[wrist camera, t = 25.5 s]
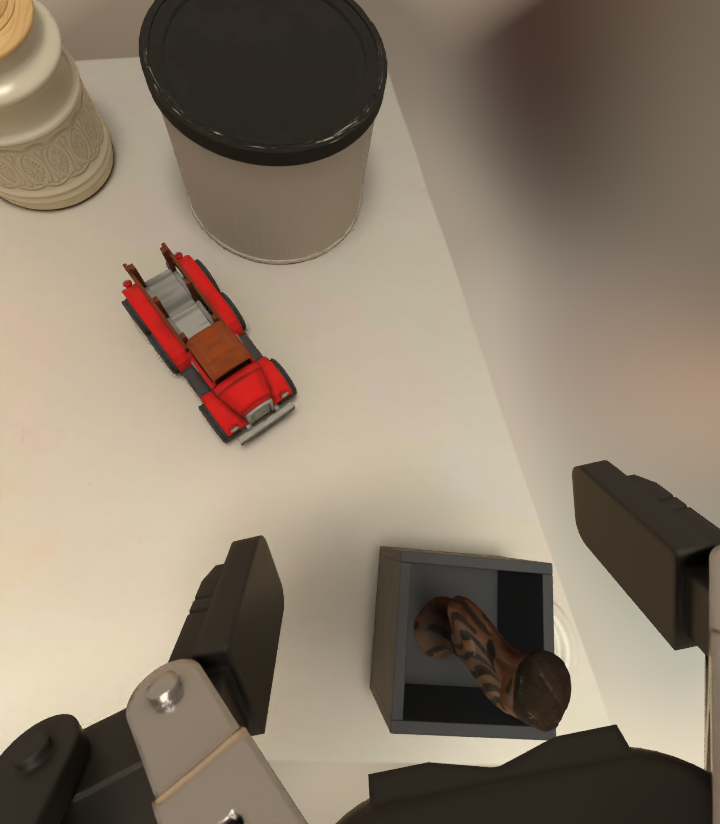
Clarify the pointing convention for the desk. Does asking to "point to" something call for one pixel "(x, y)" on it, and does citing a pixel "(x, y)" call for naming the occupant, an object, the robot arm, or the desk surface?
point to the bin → (449, 677)
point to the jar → (45, 115)
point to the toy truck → (208, 346)
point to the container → (267, 116)
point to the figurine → (496, 661)
